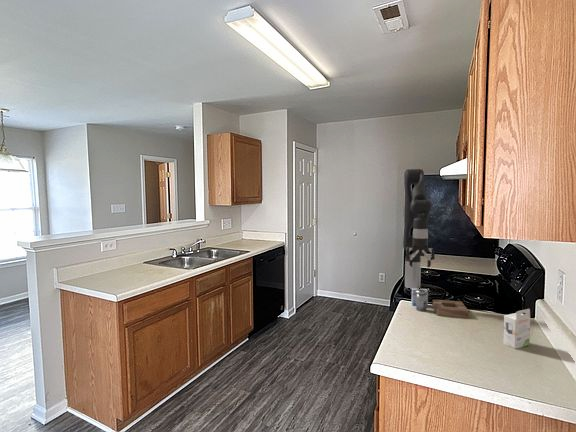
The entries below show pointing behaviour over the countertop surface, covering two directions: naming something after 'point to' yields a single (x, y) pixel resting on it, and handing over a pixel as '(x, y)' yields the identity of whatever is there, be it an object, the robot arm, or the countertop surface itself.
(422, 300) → the cylinder
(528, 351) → the countertop surface
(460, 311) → the jig
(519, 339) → the ink box
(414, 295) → the medicine box
